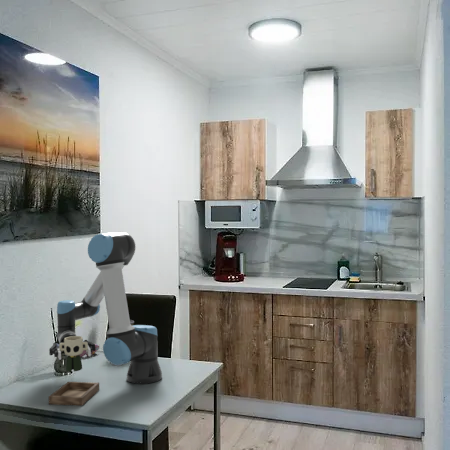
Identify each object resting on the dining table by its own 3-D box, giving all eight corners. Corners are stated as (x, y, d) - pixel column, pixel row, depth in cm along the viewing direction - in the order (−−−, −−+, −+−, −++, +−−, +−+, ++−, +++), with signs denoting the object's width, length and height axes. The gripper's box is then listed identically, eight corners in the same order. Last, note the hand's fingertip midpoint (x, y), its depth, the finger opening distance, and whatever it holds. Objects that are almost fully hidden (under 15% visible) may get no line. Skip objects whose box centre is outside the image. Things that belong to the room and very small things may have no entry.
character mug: (58, 374, 205) (57, 340, 205) (61, 368, 212) (61, 336, 212) (86, 372, 206) (86, 339, 206) (89, 367, 213) (88, 335, 213)
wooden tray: (99, 389, 217) (99, 382, 217) (82, 405, 200) (82, 397, 200) (68, 388, 219) (68, 381, 219) (48, 404, 202) (48, 396, 202)
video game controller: (83, 360, 264) (87, 349, 262) (77, 355, 266) (81, 344, 264) (97, 356, 273) (102, 344, 271) (91, 351, 275) (96, 339, 273)
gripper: (96, 347, 230) (105, 360, 210) (40, 353, 221) (43, 367, 201) (96, 330, 230) (104, 341, 209) (40, 335, 221) (43, 348, 201)
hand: (75, 354), depth 205 cm, fingers closed on character mug, 10 cm apart
